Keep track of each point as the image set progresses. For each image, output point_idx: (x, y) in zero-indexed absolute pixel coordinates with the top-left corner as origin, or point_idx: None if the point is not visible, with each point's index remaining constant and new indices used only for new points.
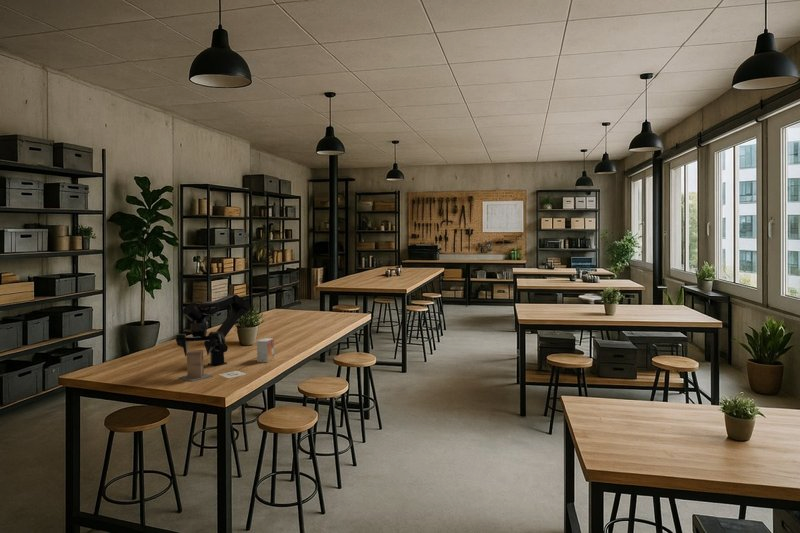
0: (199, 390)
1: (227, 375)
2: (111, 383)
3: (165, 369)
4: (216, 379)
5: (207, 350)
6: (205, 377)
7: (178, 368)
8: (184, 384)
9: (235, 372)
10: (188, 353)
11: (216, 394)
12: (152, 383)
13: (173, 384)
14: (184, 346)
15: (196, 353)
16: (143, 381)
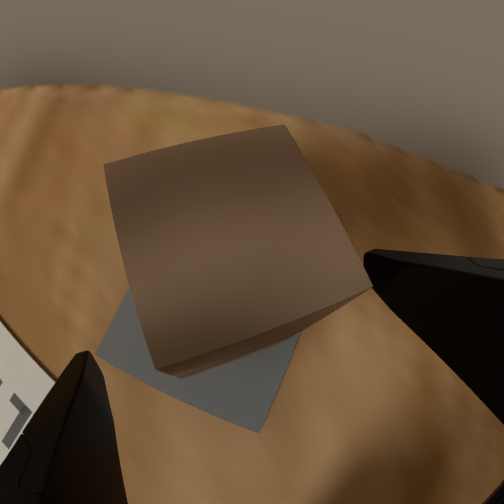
0: (79, 112)
1: (15, 380)
2: (496, 187)
3: (497, 431)
4: (49, 293)
5: (75, 377)
6: (124, 299)
7: (458, 478)
8: None
9: (6, 455)
10: (262, 129)
11: (12, 96)
12: (381, 184)
13: None
14: (483, 267)
15: (158, 156)
16: (440, 214)
